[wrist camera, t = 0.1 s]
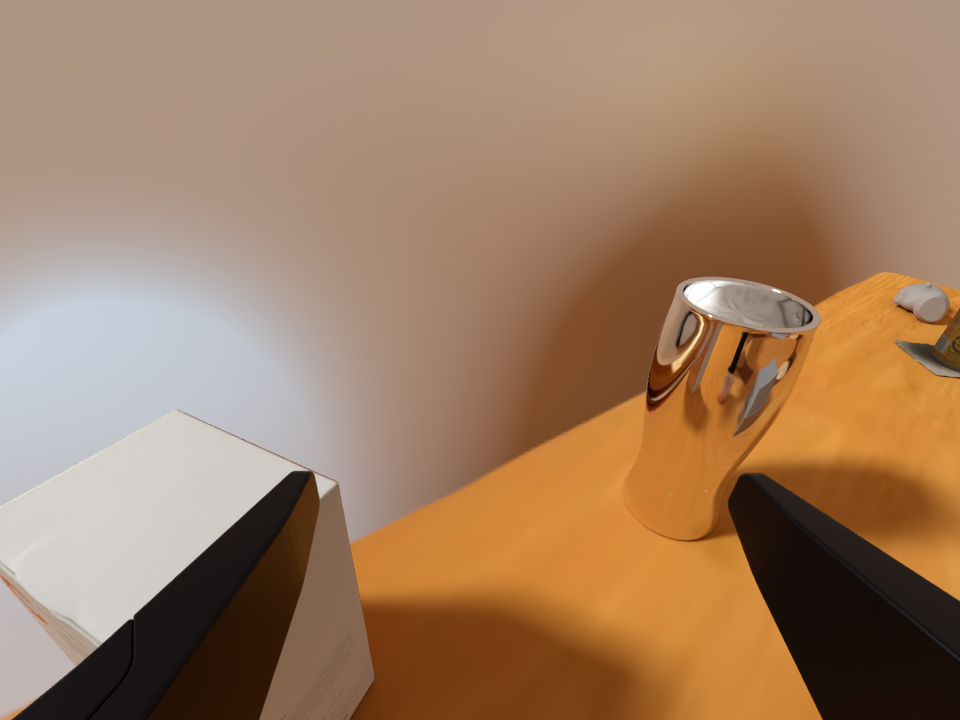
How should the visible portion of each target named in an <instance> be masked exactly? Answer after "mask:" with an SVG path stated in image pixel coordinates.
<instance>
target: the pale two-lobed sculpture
mask: <svg viewBox="0 0 960 720" xmlns="http://www.w3.org/2000/svg"><path fill="white" fill-rule="evenodd" d="M894 303H896V304H897V305H900V306H902V307H903V308H904V309H906V310H909V311H913V313H914V315H915V317H916V318H917V319H918V320H920V321H922V322H926V323H935V322H938V321H939V320H941V319H942V318H943V317H944V316H945V315H946V313H947V312H948V310H949V307H950V302H949V299H948V297H947V295H946V294H945V293H944V291H943V290H942V289H941V288H940V287H938V286H936V285H933V284H931V283H922V284H915V285H910V286H906V287H904V288H902V289H901V290H900V291H899V292H898V294H897V296H896V298H895V299H894Z"/></svg>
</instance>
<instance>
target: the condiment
mask: <svg viewBox="0 0 960 720" xmlns="http://www.w3.org/2000/svg"><path fill="white" fill-rule="evenodd" d="M894 341H895V342H896V343H897V344H898V345H899V346H900V347H901V348H902V349H903V350H905V351H906V352H907V353H908V354H909V355H910V356H912V357H913V358H914V359H915V360H916V361H918V362H920V363H921V364H923V365H924V366H925V367H926V368H927V369H929V370H930V371H932V372H933V373H934V374H935V375H940V376H950V377H960V308H959V310H958V312H957V313H956V314H955V316H954V317H953V319H952V320H951V322H950V323H949V325H948V326H947V328H946V329H945V331H944V332H943V334H942V335H941V337H940V338H939V340H938V341H937V343H936V344H935V345H929V344H919V343H910V342H906V341H897V340H894ZM942 367H943V368H942ZM945 368H947V369H945ZM948 369H949V370H948Z"/></svg>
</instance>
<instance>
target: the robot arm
mask: <svg viewBox="0 0 960 720" xmlns="http://www.w3.org/2000/svg"><path fill="white" fill-rule="evenodd" d="M319 507H320V498H319V493H318V488H317V483H316V478H315V475H314V473H313V472H312V471H292V472H290V473H289V474H288V475H287V476H286V477H285V478H284V479H282V480H281V481H280V482H279V483H278V484H277V485H276V486H275V487H274V488H273V489H271V490H270V491H269V492H268V493H267V494H266V495H265V496H264V497H263V498H262V499H260V500H259V501H258V502H257V503H256V504H255V505H254V506H253V507H252V508H251V509H250V510H248V511H247V512H246V513H245V514H244V515H243V516H242V517H241V518H240V519H239V520H237V521H236V522H235V523H234V524H233V525H232V526H231V527H230V528H229V529H228V530H226V531H225V532H224V533H223V534H222V535H221V536H220V537H219V538H218V539H217V540H216V541H214V542H213V543H212V544H211V545H210V546H209V547H208V548H207V549H206V550H205V551H203V552H202V553H201V554H200V555H199V556H198V557H197V558H196V559H195V560H194V561H192V562H191V563H190V564H189V565H188V566H187V567H186V568H185V569H184V570H183V571H182V572H180V573H179V574H178V575H177V576H176V577H175V578H174V579H173V580H172V581H171V582H169V583H168V584H167V585H166V586H165V587H164V588H163V589H162V590H161V591H160V592H159V593H157V594H156V595H155V596H154V597H153V598H152V599H151V600H150V601H149V602H148V603H146V604H145V605H144V606H143V607H142V608H141V609H140V610H139V611H138V612H137V613H135V614H134V616H133V619H129V620H128V621H126V622H125V623H124V624H123V625H122V626H121V627H120V628H119V629H118V630H117V631H115V632H114V633H113V634H112V635H111V636H110V637H109V638H108V639H107V640H106V641H104V642H103V643H102V644H101V645H100V646H99V647H98V648H96V649H95V650H94V651H93V652H92V653H91V654H90V655H89V656H87V657H86V658H85V659H84V660H83V661H82V662H81V663H79V664H78V665H77V666H76V667H75V668H74V669H73V670H72V671H70V672H69V673H68V674H67V675H66V676H64V677H63V678H62V679H61V680H60V681H58V682H57V683H56V684H55V685H53V686H52V687H51V688H50V689H49V690H47V691H46V692H45V693H44V694H43V695H41V696H40V697H39V698H38V699H36V700H35V701H34V702H33V703H32V704H30V705H29V706H28V707H27V708H26V709H24V710H23V711H22V712H21V713H19V714H18V715H17V716H16V717H14V718H13V719H12V720H259V719H260V716H261V713H262V710H263V707H264V704H265V701H266V698H267V695H268V692H269V689H270V686H271V683H272V680H273V676H274V673H275V670H276V667H277V664H278V661H279V658H280V655H281V652H282V649H283V646H284V643H285V640H286V637H287V634H288V631H289V627H290V624H291V621H292V618H293V615H294V612H295V609H296V606H297V603H298V600H299V597H300V594H301V590H302V587H303V584H304V579H305V575H306V571H307V566H308V561H309V556H310V551H311V547H312V542H313V537H314V532H315V527H316V523H317V518H318V513H319ZM728 509H729V512H730V515H731V518H732V520H733V523H734V526H735V528H736V531H737V534H738V536H739V539H740V542H741V545H742V547H743V550H744V553H745V555H746V558H747V561H748V563H749V566H750V569H751V571H752V574H753V576H754V579H755V581H756V583H757V585H758V587H759V590H760V592H761V594H762V596H763V598H764V600H765V602H766V604H767V606H768V608H769V610H770V612H771V614H772V616H773V618H774V621H775V623H776V625H777V627H778V629H779V631H780V633H781V635H782V637H783V639H784V641H785V643H786V645H787V647H788V649H789V651H790V653H791V656H792V658H793V660H794V662H795V664H796V666H797V668H798V670H799V672H800V674H801V676H802V678H803V680H804V682H805V684H806V686H807V688H808V691H809V693H810V695H811V697H812V699H813V701H814V703H815V705H816V707H817V709H818V711H819V713H820V715H821V717H822V719H823V720H960V601H959V600H957V599H956V598H954V597H953V596H951V595H949V594H948V593H946V592H945V591H943V590H942V589H940V588H939V587H937V586H936V585H934V584H933V583H931V582H929V581H928V580H926V579H925V578H923V577H922V576H920V575H919V574H917V573H916V572H914V571H913V570H911V569H909V568H908V567H906V566H905V565H903V564H902V563H900V562H899V561H897V560H896V559H894V558H892V557H891V556H889V555H888V554H886V553H885V552H883V551H882V550H880V549H879V548H877V547H876V546H874V545H872V544H871V543H869V542H868V541H866V540H865V539H863V538H862V537H860V536H859V535H857V534H856V533H854V532H852V531H851V530H849V529H848V528H846V527H845V526H843V525H842V524H840V523H839V522H837V521H835V520H834V519H832V518H831V517H829V516H828V515H826V514H825V513H823V512H822V511H820V510H819V509H817V508H815V507H814V506H812V505H811V504H809V503H808V502H806V501H805V500H803V499H802V498H800V497H799V496H797V495H795V494H794V493H792V492H791V491H789V490H788V489H786V488H785V487H783V486H782V485H780V484H778V483H777V482H775V481H774V480H772V479H771V478H769V477H768V476H766V475H764V474H761V473H744V474H742V475H740V477H739V478H738V480H737V482H736V484H735V486H734V488H733V490H732V492H731V495H730V497H729V499H728Z"/></svg>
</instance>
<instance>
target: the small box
mask: <svg viewBox="0 0 960 720" xmlns="http://www.w3.org/2000/svg"><path fill="white" fill-rule="evenodd" d="M292 471H312V470H310V469H308V468H306V467H303V466H301V465H299V464H297V463H294V462H292V461H290V460H288V459H286V458H284V457H281V456H279V455H277V454H275V453H272V452H270V451H268V450H266V449H263V448H261V447H259V446H257V445H255V444H252V443H250V442H248V441H246V440H244V439H241V438H239V437H237V436H235V435H233V434H230V433H228V432H226V431H224V430H221V429H219V428H217V427H215V426H212V425H210V424H208V423H206V422H203V421H202V420H199V419H197V418H195V417H193V416H191V415H188V414H186V413H184V412H182V411H180V410H174V411H173V412H170V413H168V414H167V415H165V416H163V417H162V418H159V419H158V420H156V421H154V422H152V423H150V424H149V425H147V426H145V427H143V428H141V429H140V430H138V431H136V432H134V433H133V434H131V435H129V436H127V437H125V438H123V439H121V440H120V441H118V442H116V443H114V444H113V445H111V446H109V447H107V448H105V449H103V450H102V451H99V452H98V453H96V454H94V455H92V456H90V457H89V458H87V459H85V460H83V461H82V462H80V463H78V464H76V465H74V466H72V467H70V468H69V469H67V470H65V471H63V472H62V473H60V474H58V475H56V476H54V477H52V478H51V479H49V480H47V481H45V482H43V483H42V484H40V485H38V486H36V487H34V488H32V489H31V490H29V491H27V492H25V493H23V494H22V495H20V496H18V497H16V498H15V499H13V500H11V501H9V502H7V503H5V504H4V505H2V506H0V579H1V580H2V581H3V582H4V583H5V584H6V586H7V587H8V588H9V589H10V590H11V591H12V593H13V594H14V595H15V596H16V597H17V598H18V599H19V601H20V602H21V603H22V604H23V605H24V606H25V607H26V609H27V610H28V611H29V612H30V613H31V614H32V616H33V617H34V618H35V619H36V620H37V621H38V623H39V624H40V625H41V626H42V627H43V628H44V629H45V631H46V632H47V633H48V634H49V635H50V637H51V638H52V639H53V640H54V641H55V643H56V644H57V645H58V646H59V647H60V648H61V650H62V651H63V652H64V653H65V654H66V656H67V657H68V658H69V659H70V660H71V661H72V662H73V663H74V664H75V666H77V665H78V664H79V663H81V662H82V661H83V660H84V659H85V658H86V657H87V656H89V655H90V654H91V653H92V652H93V651H94V650H95V649H96V648H98V647H99V646H100V645H101V644H102V643H103V642H104V641H106V640H107V639H108V638H109V637H110V636H111V635H112V634H113V633H114V632H115V631H117V630H118V629H119V628H120V627H121V626H122V625H123V624H124V623H125V622H126V621H128V620H129V619H133V616H134V614H135V613H137V612H138V611H139V610H140V609H141V608H142V607H143V606H144V605H145V604H146V603H148V602H149V601H150V600H151V599H152V598H153V597H154V596H155V595H156V594H157V593H159V592H160V591H161V590H162V589H163V588H164V587H165V586H166V585H167V584H168V583H169V582H171V581H172V580H173V579H174V578H175V577H176V576H177V575H178V574H179V573H180V572H182V571H183V570H184V569H185V568H186V567H187V566H188V565H189V564H190V563H191V562H192V561H194V560H195V559H196V558H197V557H198V556H199V555H200V554H201V553H202V552H203V551H205V550H206V549H207V548H208V547H209V546H210V545H211V544H212V543H213V542H214V541H216V540H217V539H218V538H219V537H220V536H221V535H222V534H223V533H224V532H225V531H226V530H228V529H229V528H230V527H231V526H232V525H233V524H234V523H235V522H236V521H237V520H239V519H240V518H241V517H242V516H243V515H244V514H245V513H246V512H247V511H248V510H250V509H251V508H252V507H253V506H254V505H255V504H256V503H257V502H258V501H259V500H260V499H262V498H263V497H264V496H265V495H266V494H267V493H268V492H269V491H270V490H271V489H273V488H274V487H275V486H276V485H277V484H278V483H279V482H280V481H281V480H282V479H284V478H285V477H286V476H287V475H288V474H289V473H290V472H292ZM312 472H313V473H314V475H315V478H316V483H317V488H318V493H319V498H320V507H319V513H318V518H317V523H316V527H315V532H314V537H313V542H312V547H311V551H310V556H309V561H308V566H307V571H306V575H305V579H304V584H303V587H302V590H301V594H300V597H299V600H298V603H297V606H296V609H295V612H294V615H293V618H292V621H291V624H290V627H289V631H288V634H287V637H286V640H285V643H284V646H283V649H282V652H281V655H280V658H279V661H278V664H277V667H276V670H275V673H274V676H273V680H272V683H271V686H270V689H269V692H268V695H267V698H266V701H265V704H264V707H263V710H262V713H261V716H260V719H259V720H349V719H350V717H351V716H352V714H353V712H354V711H355V709H356V708H357V706H358V705H359V703H360V701H361V700H362V698H363V697H364V695H365V693H366V692H367V690H368V689H369V687H370V685H371V684H372V682H373V680H374V678H375V675H374V670H373V664H372V659H371V654H370V649H369V643H368V638H367V632H366V627H365V622H364V616H363V611H362V606H361V601H360V596H359V590H358V585H357V579H356V574H355V569H354V564H353V559H352V553H351V548H350V544H349V538H348V533H347V528H346V523H345V518H344V511H343V506H342V501H341V496H340V490H339V485H338V482H337V481H335V480H332V479H330V478H328V477H326V476H323V475H321V474H319V473H317V472H314V471H312Z"/></svg>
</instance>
